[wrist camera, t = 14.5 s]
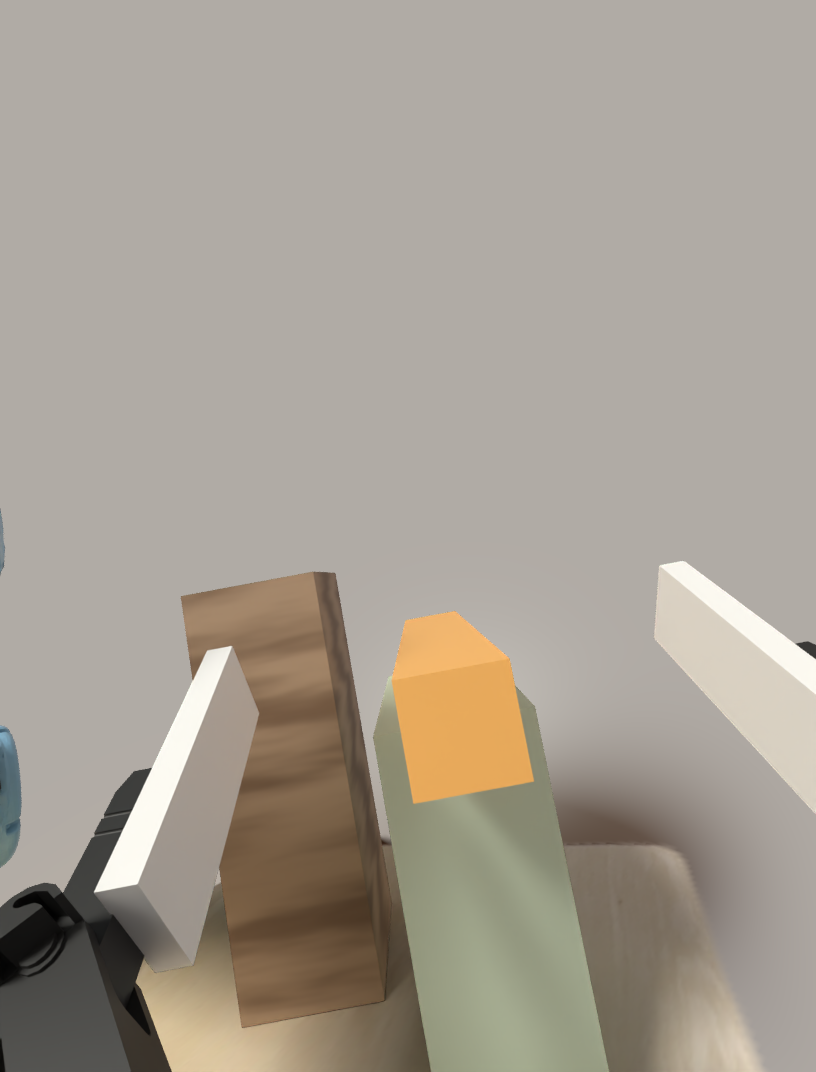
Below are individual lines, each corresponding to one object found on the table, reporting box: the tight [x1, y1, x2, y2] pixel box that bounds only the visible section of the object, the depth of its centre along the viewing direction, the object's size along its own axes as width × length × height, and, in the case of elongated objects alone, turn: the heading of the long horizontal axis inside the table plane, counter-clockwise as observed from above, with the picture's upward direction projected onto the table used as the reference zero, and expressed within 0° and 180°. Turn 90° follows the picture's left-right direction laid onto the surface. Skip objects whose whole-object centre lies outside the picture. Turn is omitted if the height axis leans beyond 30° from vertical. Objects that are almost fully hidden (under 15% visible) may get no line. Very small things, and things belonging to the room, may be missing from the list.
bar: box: [392, 611, 534, 804], centre depth 27 cm, size 22×4×4 cm, turn 179°
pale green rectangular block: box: [373, 676, 609, 1072], centre depth 29 cm, size 14×8×21 cm, turn 179°
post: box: [181, 572, 391, 1028], centre depth 39 cm, size 10×10×30 cm
